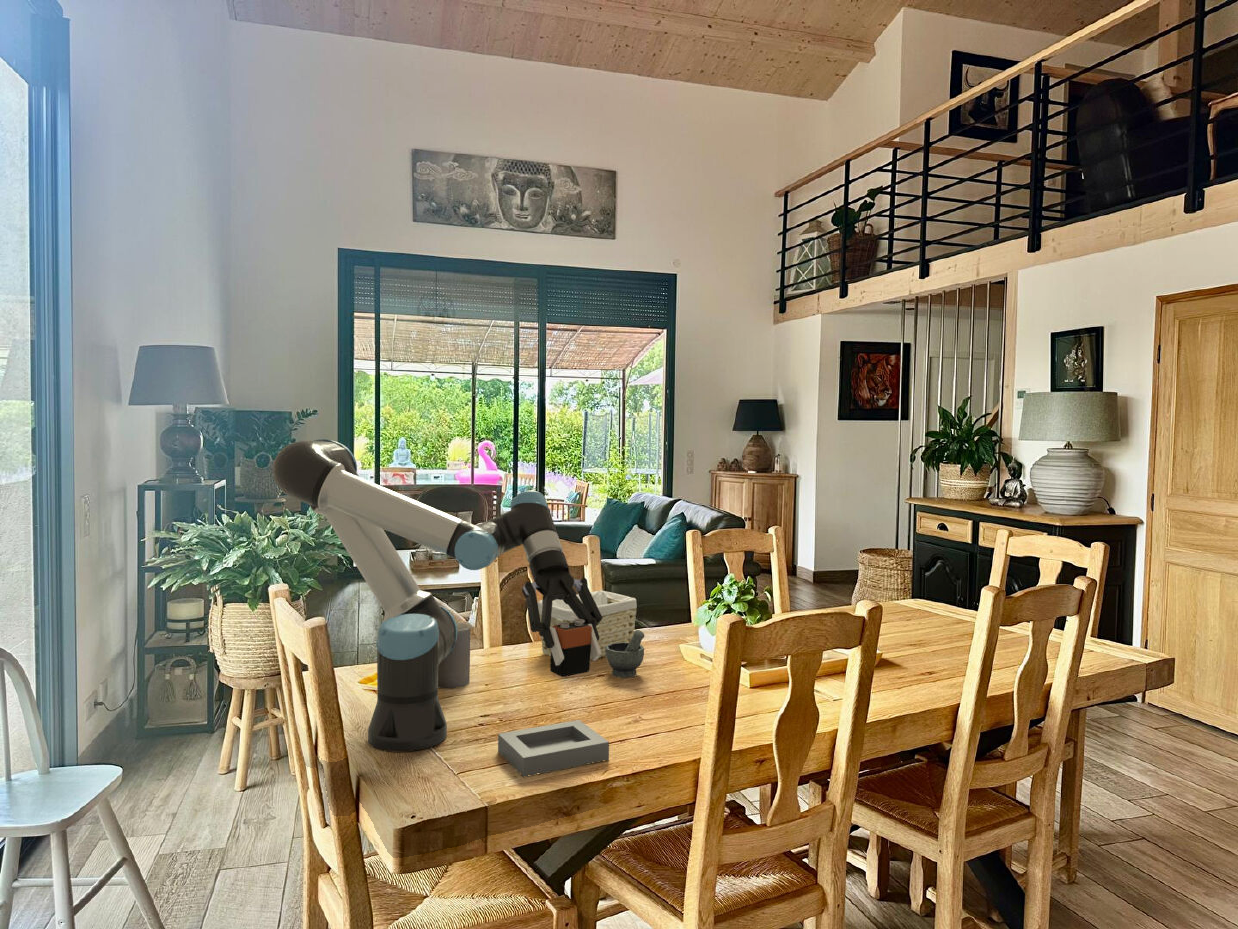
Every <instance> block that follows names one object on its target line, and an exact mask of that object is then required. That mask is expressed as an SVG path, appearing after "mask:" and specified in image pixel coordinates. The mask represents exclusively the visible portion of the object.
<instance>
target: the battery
mask: <svg viewBox="0 0 1238 929" xmlns="http://www.w3.org/2000/svg"><path fill="white" fill-rule="evenodd" d="M584 622H585V620H583V619H575V620H574V622H573V623H567V622H562V623H561V625H555V626H553V627H552V628H555V630H556V633H557V636H558V639H559V643H560V646H561V649H562V652H563V655H564V659H563V661H562V662H561V664H560V665H555V662H554V658H553V655H552V652H551V656H550V663H549V664H550V666H549V671H550V672H551V673H552V674H555V675H557V676H559V677H561V678H566V677H571V676H575V675H581V674H586V673H589V672H590V668H591V660H590V653H591V635H592V627H591V626H589V625H586V624H584Z"/></svg>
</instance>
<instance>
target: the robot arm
mask: <svg viewBox="0 0 1238 929" xmlns="http://www.w3.org/2000/svg"><path fill="white" fill-rule="evenodd" d="M272 476H273V479H274V482H275V484H276V486H277V487H278V488H279V490H280V491H281V492H282V493H283V494H285V495H286V496H288V497H290V498H292V499H295V500H297V501H300V502H303V503H305V504H307V505H309V507H310V509H311V510H312V512H314V513H315V514H317V515H321V516H324V517H325V518H326V519H327V521H328V523H329V525H330V526H331V527H332V529H333V530H334V533H335V534H336V535H337V537H338V539H339V540H340V542H341V543H342V546H343V547H344V549H345V551H346V552H347V553H348V555H349V557H350V558H351V560H352V561H353V563H354V564H355V566H356V568H357V569H358V571H359V572H360V574H361V576H362V578H363V579H364V580H365V582H366V584H367V586H368V587H369V588H370V590H371V592H372V594H373V595H374V596H375V598H376V600H377V602H378V603H379V604H380V606H381V608H382V609H383V611H384V616H383V620H382V623H381V624H380V625H379V627H378V629H377V636H376V639H375V640H376V643H375V646H376V651H377V652H376V653H377V654H376V658H377V659H376V660H377V661H376V666H377V672H376V674H377V677H376V678H377V679H376V681H377V682H376V684H377V686H376V687H377V691H376V692H377V694H376V695H377V698H376V699H377V700H376V705H375V707H374V711H373V714H372V717H371V720H370V723H369V725H368V729H367V742H368V744H369V745H370V746H371V747H372V748H375V749H377V750H380V749H381V751H384V750H386V751H385V752H393V751H395V752H394V753H397V752H398V753H399V751H406V752H413V751H414V750H416V751H420V750H425V749H428V748H431V747H434V746H437V745H439V744H441V743H442V742H443V741H445V740H446V738H447V736H448V725H447V724H448V722H447V720H446V718H445V714H444V712H443V708H442V706H441V702H440V700H439V699H440V698H439V688H438V665H439V664H440V663H441V662H442V661H443V660H444V659H445V658H446V657H447V656H448V655H449V654H450V653H451V651H452V649H453V647H454V645H455V642H456V639H457V633H458V631H457V624H456V622H457V621H456V619H455V617H454V616H453V614H452V613H451V612H450V611H449V610H448V609H447V608H445V607H443V606H441V605H439V603H438V602H437V600H436V599H435V597H434V596H433V594H432V592H429V591H425V590H422V589H421V588H420V586H419V585H418V584H417V582H416V580H415V579H414V577H413V575H412V574H411V572H410V571H409V569H408V567H407V565H406V564H405V562H404V561H403V559H402V557H401V556H400V554H399V553H398V551H397V549H396V547H395V546H394V545H393V543H392V542H391V540H390V538H389V537H388V535H387V534H386V532H385V531H388V532H390V533H392V534H394V535H397V536H399V537H402V538H405V539H406V540H410V541H412V542H414V543H416V544H419V545H422V546H424V547H427V548H428V549H431V550H434V551H436V552H438V553H440V554H443V555H445V556H448V557H450V558H452V559H454V560H456V561H457V562H458V564H459V565H460V566H461V567H462V568H465V569H466V570H470V571H479V570H482V569H485V568H487V567H489V566H490V565H491V564H492V563H493V562H494V561H495V560H496V559H497V558H498V557H499V556H501V555H502V554H504V553H506V552H509V551H510V550H512V549H515V548H517V547H520V546H522V547H523V550H524V552H525V557H526V560H527V562H528V566H529V569H530V574H531V577H532V579H533V582H530V581H526V582H525V583H524V585H523V587H522V589H521V592H522V594H523V595H524V597H525V601H526V607H527V613H528V620H529V627H530V631H531V632H532V633H536V632H538V635H539V637H541V636H543V638H544V641H545V645H546V647H547V648H551V652H552V655H553V658H554V662H555V665H560V664H561V662H562V661H563V659H564V655H563V652H562V649H561V646H560V643H559V639H558V636H557V633H556V630H555V628H551V629H550V624H551V613H552V601H554V600H556V599H558V600H563V601H564V602H565V604H568V605H569V607H570V608H571V609H572V611H573V612H574V613H575V614H576V616H577V617H578V618H579V619H583V620H585V622H584V624H586V625H589V626H591V627H592V635H591V653H590V654H591V657H592V661H593V662H594V661H595V662H596V661H597V660H598V659H600V658H599V656H600V655H601V654H602V653H601V650H600V647H599V644H598V640H599V634H598V631H597V628H596V626H597V625H598V624H599V622H600V621H601V620H602V615H601V613H600V611H599V609H598V607H597V605H596V603H595V601H594V599H593V597H592V595H591V593H590V592H591V590H590V589H589V587H588V586H589V584H588V579H587V578H586V577H582V578H581V579H576V578H574V577H573V576H572V575H571V573H570V568H569V564H568V562H567V558H566V555H565V553H564V548H563V545H562V543H561V541H560V537H559V534H558V532H557V529H556V526H555V523H554V519H553V516H552V513H551V509H550V507H549V506H548V504H547V501H546V499H545V498H546V497H545V496H544V494H543V493H542V492H539V491H536V490H531V489H530V490H524V491H522V492H520V493H517V494H516V496H515V497H513V498H512V499H511V502H510V510H508V511H506V512H505V513H503V514H501V515H498V516H497V517H494V518H491V519H489V520H487V521H484V522H481V523H480V524H477V525H476V524H473V523H471V522H469V521H465V520H463V519H461V518H459V517H456V516H454V515H451V514H449V513H447V512H445V511H442V510H439V509H436V508H435V507H432V506H430V505H427V504H425V503H422V502H420V501H418V500H416V499H413V498H410V497H408V496H405V495H404V494H402V493H399V492H396V491H395V490H394V491H393V490H391V489H389V488H387V487H384V486H382V485H379V484H377V483H375V482H372V481H370V480H367V479H365V478H363V477H360V476H359V474H358V465H357V461H356V457H355V456H354V453H353V452H352V451H351V450H350V449H349V448H348V447H347V446H346V445H344V444H342V443H341V442H339V441H334V440H331V439H325V438H324V439H323V438H322V439H314V440H300V441H299V440H298V441H295V442H291V443H289V444H288V445H286V446H284V447H283V448H282V449H281V450H280V451H279V452H278V453H277V455H276V457H275V459H274V461H273V465H272ZM573 587H574V588H575V589H574V588H573ZM536 591H537V592H539V593H540V594H541V595H542V599H541V600H542V604H543V607H542V617H541V621H540V615H539V609H538V598H537V592H536ZM578 594H579V597H580V599H581V601H582V602H581V601H580V600H579V598H578V597H577V596H576V595H578ZM582 603H583V604H582ZM396 751H397V752H396ZM414 752H415V751H414Z"/></svg>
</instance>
